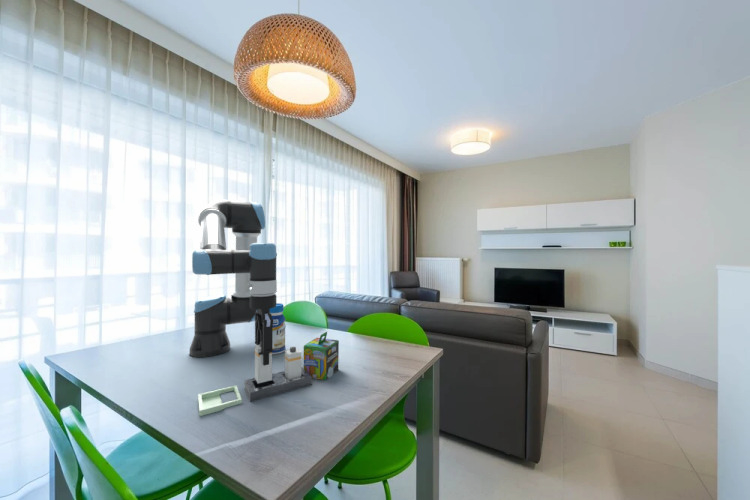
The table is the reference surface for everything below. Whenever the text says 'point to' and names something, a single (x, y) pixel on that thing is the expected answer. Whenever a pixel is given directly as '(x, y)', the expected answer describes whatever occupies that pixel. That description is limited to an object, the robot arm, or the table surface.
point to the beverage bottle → (278, 329)
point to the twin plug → (292, 363)
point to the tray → (216, 400)
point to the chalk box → (321, 357)
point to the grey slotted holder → (276, 385)
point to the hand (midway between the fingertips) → (263, 372)
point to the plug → (257, 366)
